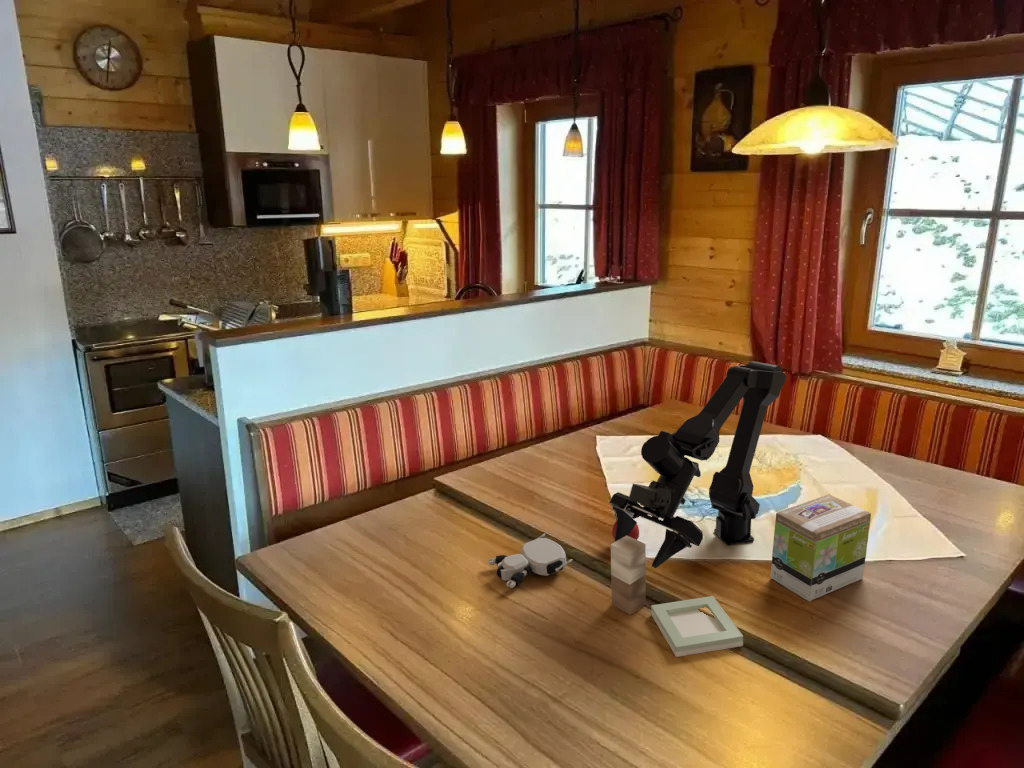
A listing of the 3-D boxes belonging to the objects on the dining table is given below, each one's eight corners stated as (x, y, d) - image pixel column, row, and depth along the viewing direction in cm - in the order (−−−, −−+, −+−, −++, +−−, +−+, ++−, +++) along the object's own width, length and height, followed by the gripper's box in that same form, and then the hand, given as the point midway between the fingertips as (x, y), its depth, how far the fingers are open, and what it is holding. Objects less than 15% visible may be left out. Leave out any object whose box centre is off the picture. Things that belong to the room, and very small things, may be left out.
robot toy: (511, 601, 139) (577, 574, 144) (508, 581, 137) (574, 555, 143) (486, 571, 150) (548, 547, 155) (483, 553, 148) (546, 529, 153)
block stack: (627, 594, 137) (626, 535, 133) (645, 604, 133) (645, 543, 130) (611, 604, 134) (610, 544, 130) (630, 614, 131) (629, 553, 127)
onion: (638, 554, 150) (638, 521, 148) (611, 553, 151) (611, 520, 149) (639, 540, 156) (639, 508, 153) (613, 539, 157) (612, 507, 154)
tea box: (811, 604, 131) (816, 533, 126) (769, 578, 139) (773, 511, 135) (865, 579, 137) (872, 511, 133) (822, 556, 146) (827, 491, 141)
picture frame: (712, 605, 132) (712, 595, 131) (742, 645, 121) (743, 636, 120) (651, 614, 130) (651, 605, 130) (676, 657, 119) (676, 647, 118)
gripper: (614, 453, 137) (576, 524, 134) (695, 482, 123) (654, 561, 120) (641, 478, 144) (604, 546, 141) (719, 507, 131) (682, 583, 127)
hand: (634, 558), depth 132 cm, fingers open, 9 cm apart
